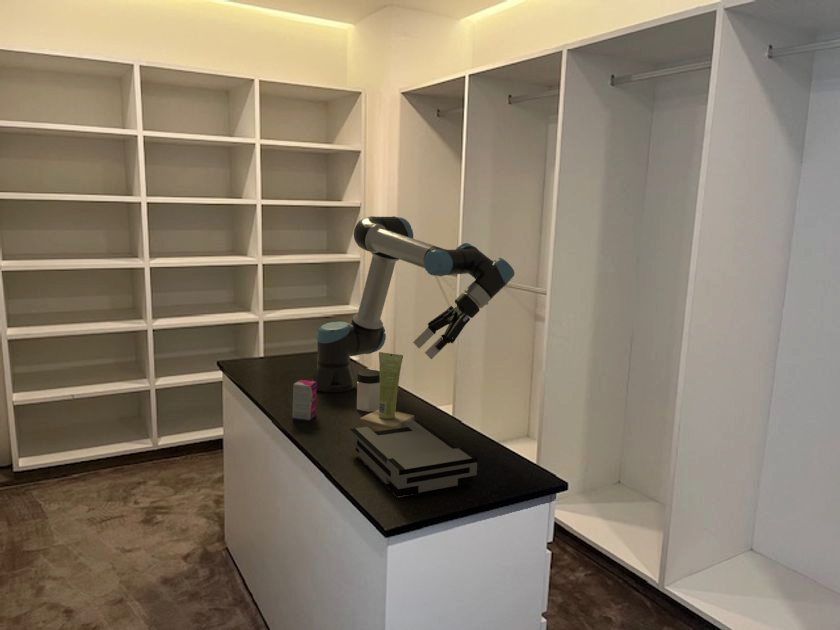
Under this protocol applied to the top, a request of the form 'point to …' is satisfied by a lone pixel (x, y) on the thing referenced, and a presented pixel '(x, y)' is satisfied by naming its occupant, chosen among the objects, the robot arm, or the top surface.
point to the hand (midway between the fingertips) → (421, 350)
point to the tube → (389, 383)
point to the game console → (413, 458)
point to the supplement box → (304, 400)
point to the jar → (368, 390)
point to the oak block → (384, 421)
